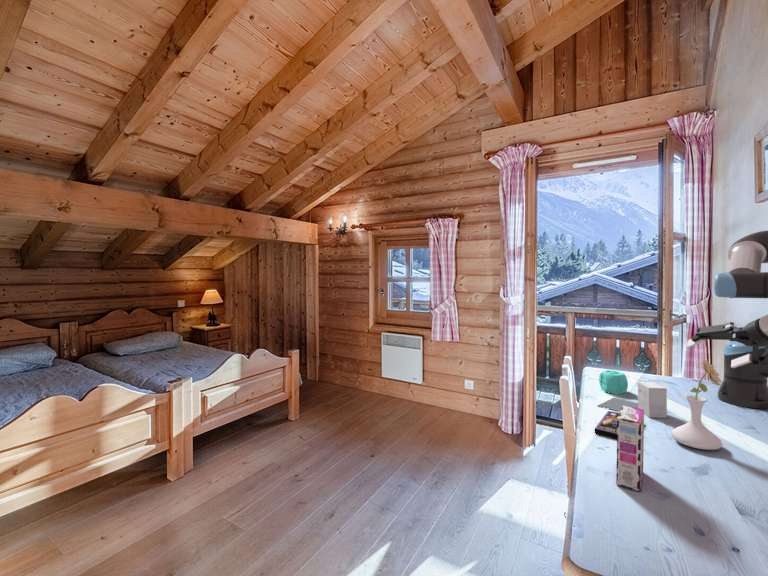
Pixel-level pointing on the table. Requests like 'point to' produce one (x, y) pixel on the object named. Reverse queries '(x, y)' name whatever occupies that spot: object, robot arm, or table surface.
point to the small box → (652, 399)
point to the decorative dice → (613, 382)
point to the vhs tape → (608, 425)
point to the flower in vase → (698, 417)
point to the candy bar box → (630, 447)
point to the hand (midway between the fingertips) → (709, 354)
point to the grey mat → (618, 404)
